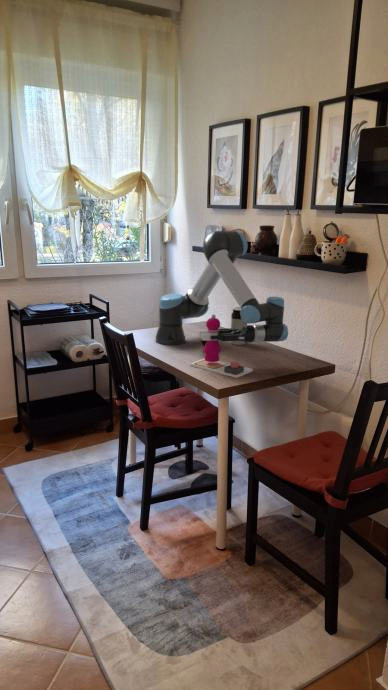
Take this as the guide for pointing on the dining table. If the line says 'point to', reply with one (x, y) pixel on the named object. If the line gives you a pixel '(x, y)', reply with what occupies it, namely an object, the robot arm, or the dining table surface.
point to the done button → (234, 365)
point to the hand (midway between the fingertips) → (200, 335)
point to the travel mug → (237, 323)
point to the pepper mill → (212, 346)
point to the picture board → (221, 368)
